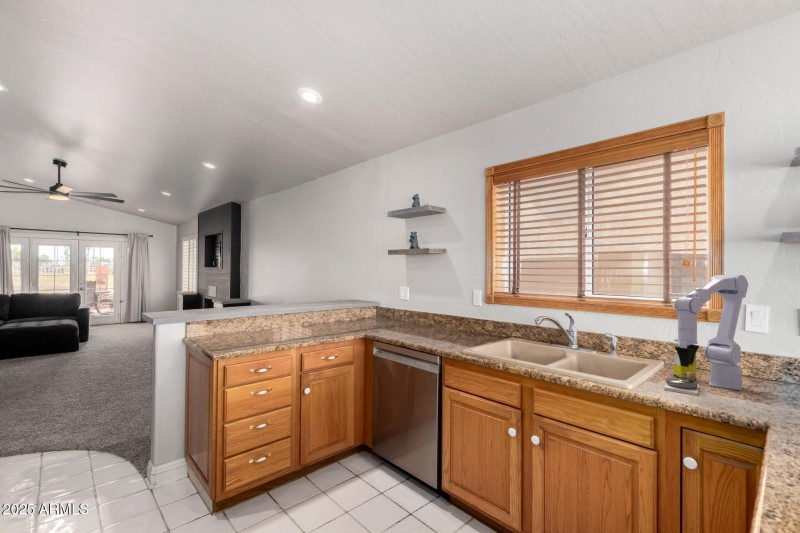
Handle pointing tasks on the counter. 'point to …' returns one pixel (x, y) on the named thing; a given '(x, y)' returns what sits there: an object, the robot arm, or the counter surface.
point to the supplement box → (680, 370)
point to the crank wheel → (683, 382)
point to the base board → (681, 389)
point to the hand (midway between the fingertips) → (687, 365)
